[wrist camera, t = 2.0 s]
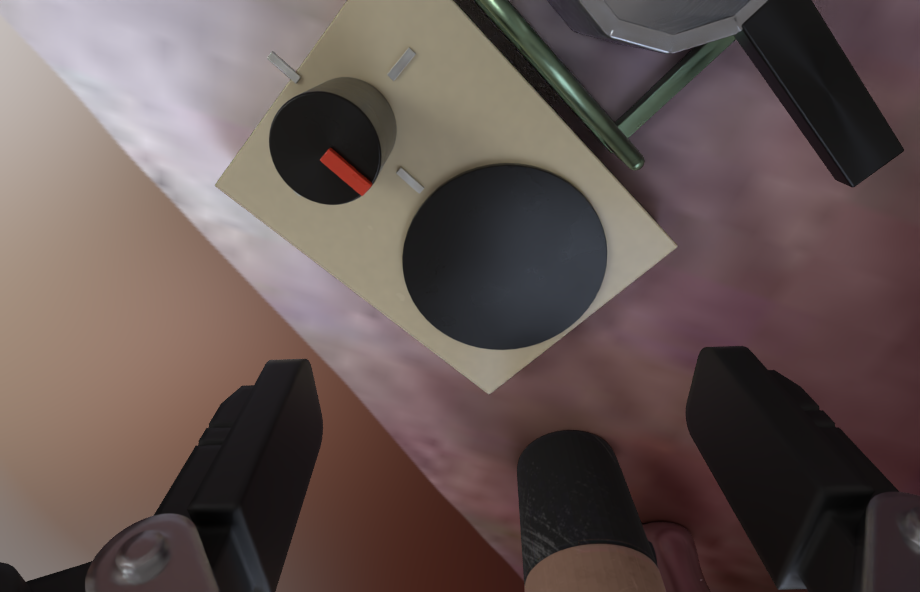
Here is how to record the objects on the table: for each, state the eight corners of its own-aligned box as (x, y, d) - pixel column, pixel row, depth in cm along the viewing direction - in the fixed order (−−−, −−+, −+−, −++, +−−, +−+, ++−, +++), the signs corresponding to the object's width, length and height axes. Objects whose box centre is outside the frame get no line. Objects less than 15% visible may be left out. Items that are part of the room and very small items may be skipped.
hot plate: (220, 153, 25) (190, 170, 23) (382, -78, 21) (369, -92, 18) (487, 364, 32) (489, 397, 29) (658, 224, 27) (680, 248, 24)
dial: (286, 128, 22) (242, 155, 18) (341, 54, 20) (308, 64, 16) (359, 190, 23) (334, 229, 19) (415, 125, 22) (403, 151, 17)
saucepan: (657, -282, 18) (749, -423, 12) (868, 65, 23) (1000, 82, 17) (488, -69, 21) (497, -100, 15) (708, 194, 26) (776, 244, 20)
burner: (506, 114, 21) (506, 115, 21) (647, 260, 25) (649, 264, 24) (362, 266, 25) (360, 269, 25) (501, 376, 28) (502, 380, 28)
